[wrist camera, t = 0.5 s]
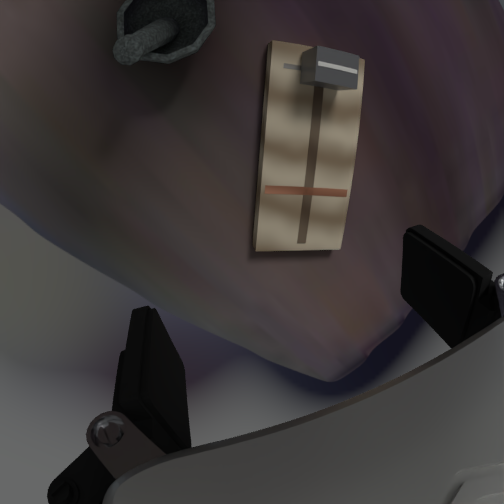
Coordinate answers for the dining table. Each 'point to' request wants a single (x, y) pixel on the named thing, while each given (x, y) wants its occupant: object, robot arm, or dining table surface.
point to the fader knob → (329, 69)
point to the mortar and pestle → (162, 29)
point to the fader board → (304, 157)
